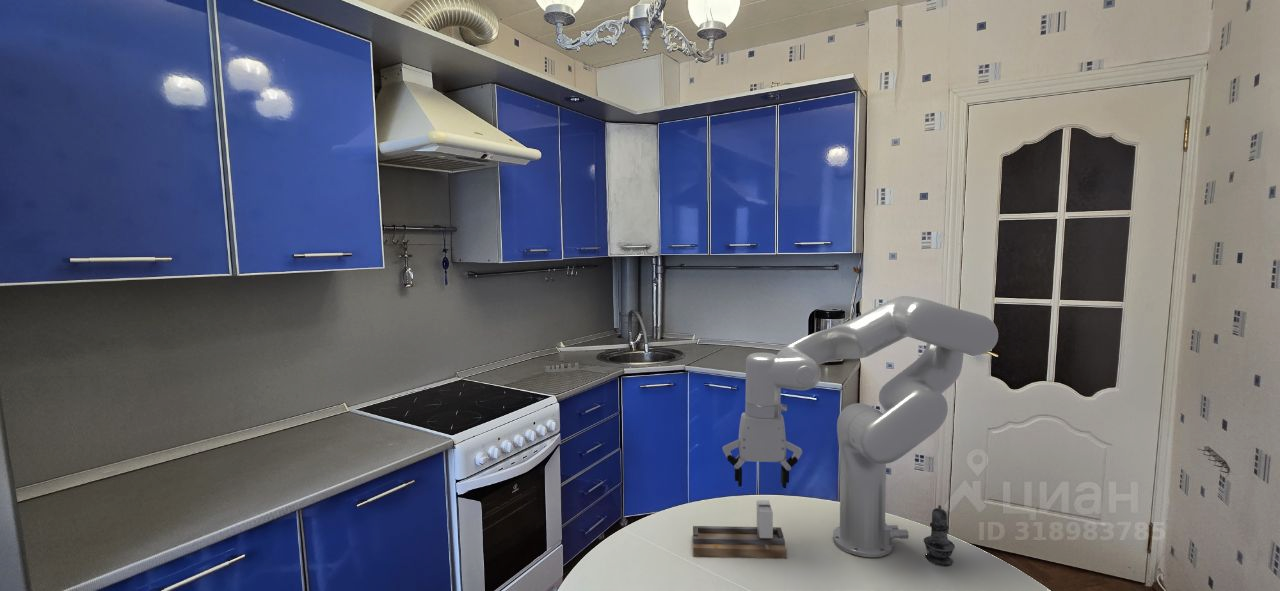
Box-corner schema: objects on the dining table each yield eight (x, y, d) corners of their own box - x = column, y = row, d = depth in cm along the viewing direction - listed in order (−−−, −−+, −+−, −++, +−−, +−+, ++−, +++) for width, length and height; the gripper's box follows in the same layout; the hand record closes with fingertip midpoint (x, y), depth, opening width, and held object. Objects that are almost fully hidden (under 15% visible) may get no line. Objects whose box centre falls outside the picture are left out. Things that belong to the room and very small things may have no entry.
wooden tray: (779, 536, 129) (779, 521, 129) (786, 558, 120) (786, 542, 120) (693, 535, 131) (692, 520, 131) (693, 556, 122) (693, 540, 122)
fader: (769, 530, 127) (769, 499, 127) (773, 543, 122) (773, 511, 121) (756, 530, 128) (756, 499, 127) (759, 543, 122) (759, 511, 122)
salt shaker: (944, 551, 121) (945, 498, 120) (960, 566, 116) (962, 511, 114) (917, 552, 121) (918, 499, 120) (932, 567, 115) (933, 512, 114)
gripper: (799, 405, 125) (797, 479, 127) (721, 403, 127) (721, 476, 128) (806, 415, 118) (804, 493, 119) (724, 413, 119) (723, 490, 121)
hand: (761, 484), depth 124 cm, fingers open, 9 cm apart
